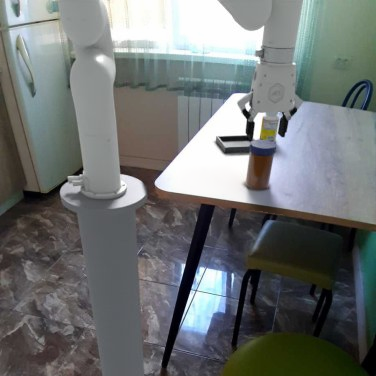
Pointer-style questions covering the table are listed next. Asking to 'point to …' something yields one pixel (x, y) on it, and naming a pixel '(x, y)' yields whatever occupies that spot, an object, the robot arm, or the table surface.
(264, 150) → the jar lid
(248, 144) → the slate tray
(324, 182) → the table surface
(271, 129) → the supplement bottle
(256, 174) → the jam jar
